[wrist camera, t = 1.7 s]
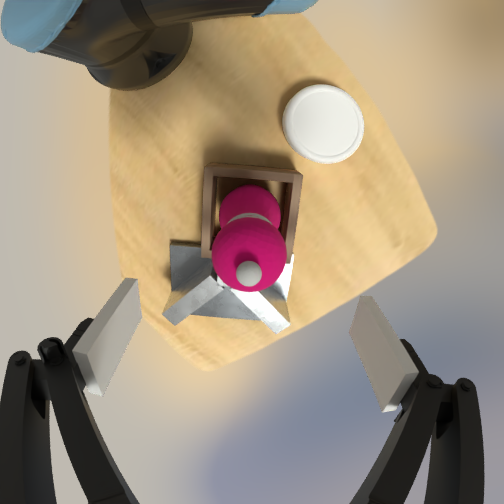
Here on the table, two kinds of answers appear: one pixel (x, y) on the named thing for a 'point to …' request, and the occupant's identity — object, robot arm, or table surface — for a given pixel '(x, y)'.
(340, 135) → the coaster
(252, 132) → the table surface
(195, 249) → the v block
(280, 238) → the pepper mill
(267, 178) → the wooden square frame
